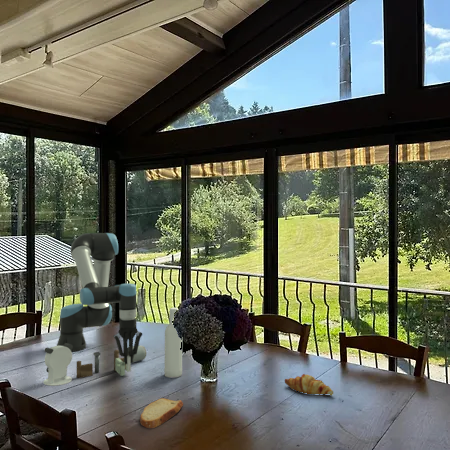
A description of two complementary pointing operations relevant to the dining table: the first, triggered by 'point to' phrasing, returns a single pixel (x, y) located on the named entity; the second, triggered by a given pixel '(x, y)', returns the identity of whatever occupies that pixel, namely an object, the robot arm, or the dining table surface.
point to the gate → (120, 366)
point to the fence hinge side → (116, 355)
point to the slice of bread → (159, 412)
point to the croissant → (308, 385)
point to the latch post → (96, 361)
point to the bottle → (172, 350)
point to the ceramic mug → (138, 354)
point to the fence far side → (84, 370)
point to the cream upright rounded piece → (58, 364)
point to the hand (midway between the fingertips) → (128, 370)
